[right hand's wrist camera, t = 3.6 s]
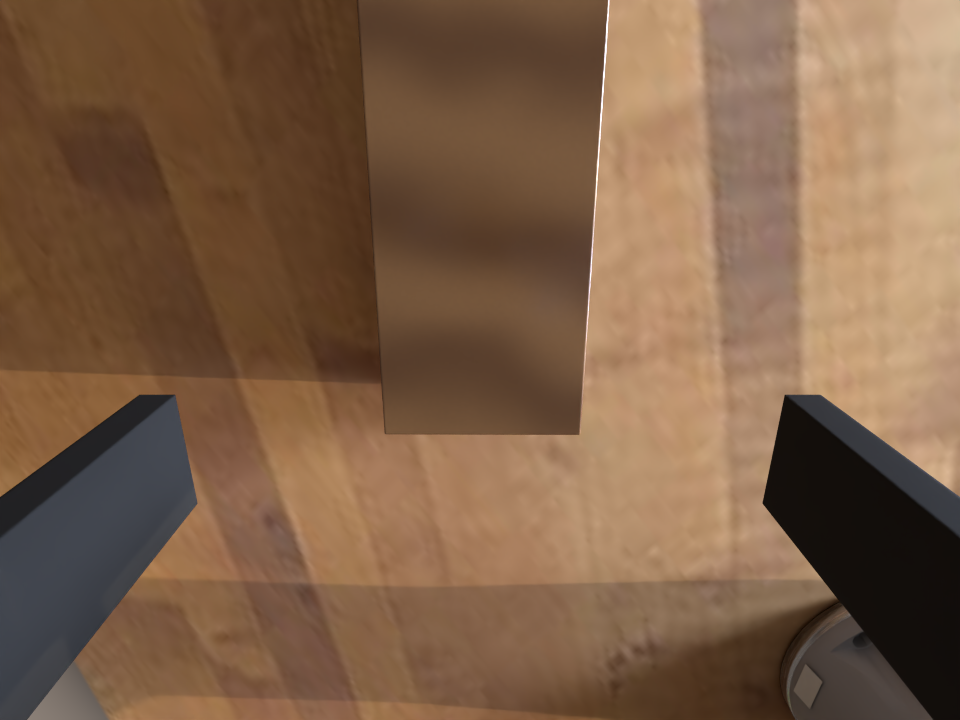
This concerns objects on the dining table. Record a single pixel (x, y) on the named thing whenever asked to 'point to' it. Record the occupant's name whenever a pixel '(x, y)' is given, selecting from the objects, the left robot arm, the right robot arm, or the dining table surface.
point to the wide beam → (482, 207)
